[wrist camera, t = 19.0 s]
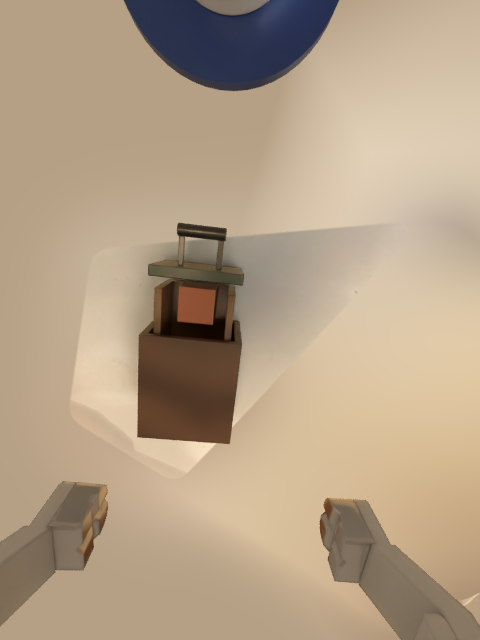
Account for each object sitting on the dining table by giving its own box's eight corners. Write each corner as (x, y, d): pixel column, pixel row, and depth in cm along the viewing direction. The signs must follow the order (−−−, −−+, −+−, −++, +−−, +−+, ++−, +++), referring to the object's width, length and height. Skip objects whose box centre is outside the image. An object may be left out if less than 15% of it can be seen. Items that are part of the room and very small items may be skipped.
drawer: (166, 223, 36) (149, 217, 28) (245, 232, 36) (249, 229, 29) (161, 346, 40) (145, 369, 33) (232, 352, 41) (232, 377, 33)
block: (184, 281, 37) (178, 286, 32) (217, 284, 37) (215, 289, 33) (183, 312, 38) (177, 321, 34) (215, 315, 38) (213, 325, 34)
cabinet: (160, 313, 40) (138, 334, 31) (239, 321, 40) (241, 344, 31) (157, 396, 43) (137, 437, 34) (230, 402, 44) (229, 444, 35)
